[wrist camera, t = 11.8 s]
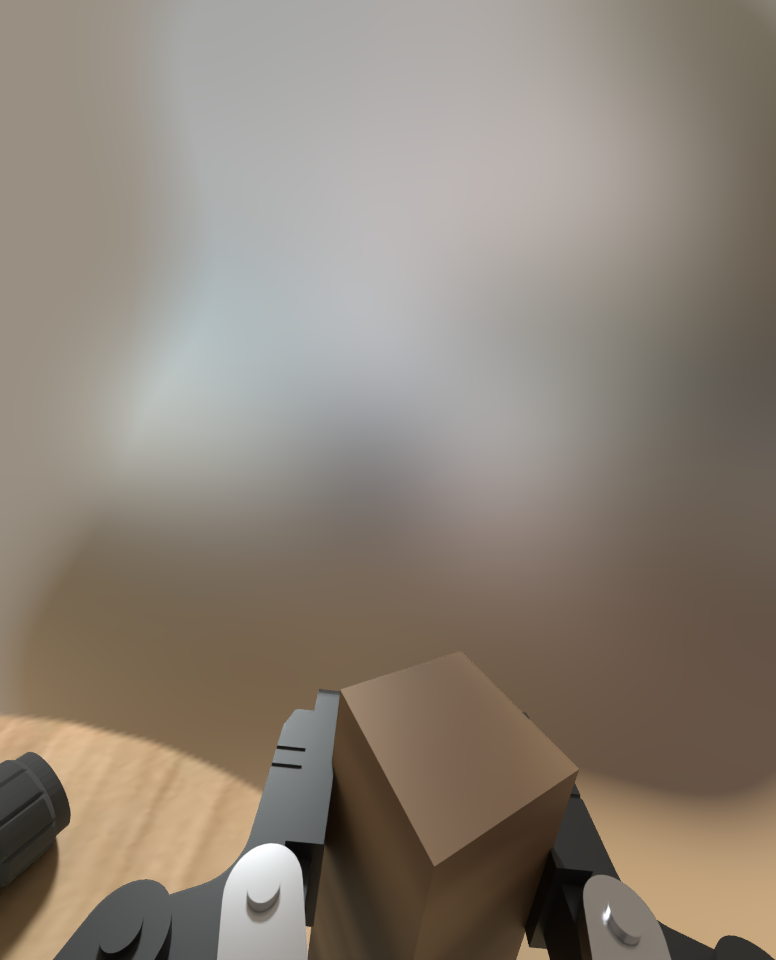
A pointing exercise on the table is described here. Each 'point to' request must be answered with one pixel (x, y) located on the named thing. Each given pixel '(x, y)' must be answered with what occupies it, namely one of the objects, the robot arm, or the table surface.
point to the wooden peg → (435, 819)
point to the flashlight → (28, 813)
